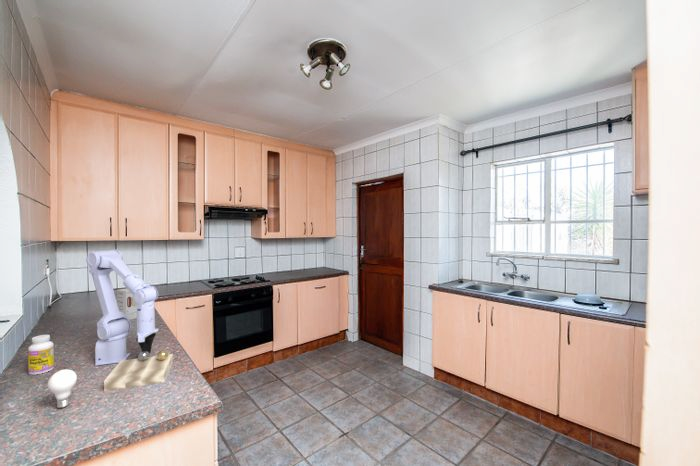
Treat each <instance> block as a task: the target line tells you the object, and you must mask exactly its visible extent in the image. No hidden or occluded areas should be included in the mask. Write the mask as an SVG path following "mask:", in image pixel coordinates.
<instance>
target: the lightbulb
mask: <svg viewBox="0 0 700 466" xmlns="http://www.w3.org/2000/svg"><path fill="white" fill-rule="evenodd" d="M77 379H78V375H77V372H76V371H74V370H72V369H70V368H69V369H67V368H65V369H60V370H57V371H56V372H54V373H53V374H52V375H51V376H50V377H49V379H48V381H47V388H48V390H49V391H50V392H51V393H53V395H54V397H55V399H56V405H57V406H56V407H57V408H58V409H59V408H61V409H63V408H65V407H67V406H69V404H70V395H71V394H72V390H73V388H74V387H75V385H76V383H77V381H78V380H77Z"/></svg>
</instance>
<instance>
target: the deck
mask: <svg viewBox="0 0 700 466" xmlns="http://www.w3.org/2000/svg"><path fill="white" fill-rule="evenodd" d="M173 354H174V353H168V357H167V358H166V359H165V360H159V359H158V358H157V355H152V356H149V358H148V359H147V360H145V361H140V360H139V359H138V357H137V358H129V359H126V360H121V361H120V362H119V363H117V365H116V366H115V367H114V368H113V369H112V371H111V372H110V373H109V374H108V375H107V377H106V378H105V379H104V380H103V390H104V391H103V392H110V391H116V390H123V389H130V388H137V387H142V386H147V385H148V386H150V385H155V384H161V383H165V382H166V380H167V377H168V375H169V373H170V371H171V368H172V366H173V364H174V355H173Z"/></svg>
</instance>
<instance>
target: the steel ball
mask: <svg viewBox="0 0 700 466" xmlns="http://www.w3.org/2000/svg"><path fill="white" fill-rule="evenodd" d="M149 357H150V354H149V352H148V351H142V350H141V351H140V352H139V354H138V355H137V358H138V359H139V360H140V361H145V360H147V359H148V358H149Z"/></svg>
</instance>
